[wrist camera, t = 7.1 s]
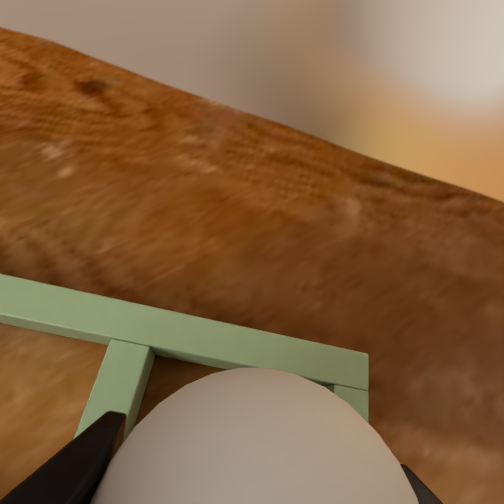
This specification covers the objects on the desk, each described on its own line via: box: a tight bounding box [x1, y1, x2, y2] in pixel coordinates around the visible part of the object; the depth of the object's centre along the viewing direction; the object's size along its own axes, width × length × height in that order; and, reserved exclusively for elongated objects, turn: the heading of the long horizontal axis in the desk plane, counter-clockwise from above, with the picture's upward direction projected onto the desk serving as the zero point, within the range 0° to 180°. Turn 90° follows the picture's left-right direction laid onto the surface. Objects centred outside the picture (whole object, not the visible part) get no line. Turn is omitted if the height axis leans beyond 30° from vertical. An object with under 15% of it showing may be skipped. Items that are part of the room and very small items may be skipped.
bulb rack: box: [0, 274, 368, 444], centre depth 12 cm, size 10×19×2 cm, turn 80°
